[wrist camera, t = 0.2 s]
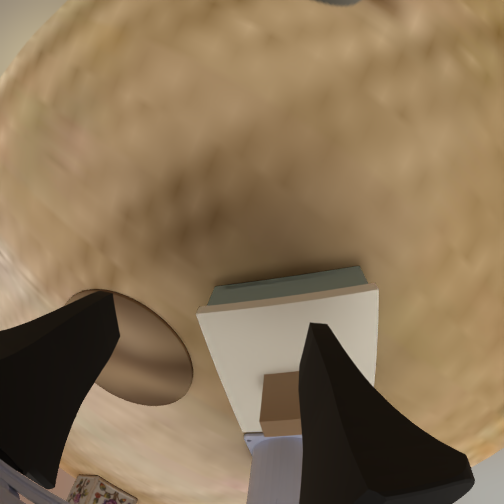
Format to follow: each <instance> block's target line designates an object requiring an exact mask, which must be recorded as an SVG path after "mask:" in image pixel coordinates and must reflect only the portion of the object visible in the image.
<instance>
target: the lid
mask: <svg viewBox="0 0 504 504" xmlns="http://www.w3.org/2000/svg"><path fill="white" fill-rule="evenodd" d="M378 304H379V289H378V287H377V285H376V283H369V284H363V285H357V286H351V287H345V288H339V289H333V290H326V291H320V292H313V293H306V294H299V295H292V296H285V297H277V298H270V299H262V300H254V301H246V302H237V303H229V304H220V305H210V306H201V307H199V308H198V310H197V313H196V316H197V318H198V321H199V324H200V327H201V330H202V332H203V335H204V338H205V341H206V343H207V346H208V349H209V351H210V354H211V357H212V359H213V362H214V364H215V367H216V369H217V372H218V375H219V377H220V380H221V382H222V385H223V387H224V389H225V392H226V394H227V397H228V399H229V402H230V404H231V406H232V409H233V411H234V413H235V416H236V418H237V420H238V423H239V425H240V427H241V429H242V432H263V434H264V437H277V436H291V435H302V429H301V417H300V404H299V392H298V385H299V364H300V360H301V357H302V353H303V349H304V345H305V340H306V336H307V332H308V328H309V324H310V322H312V323H322V324H328V326H329V327H330V329H331V330H332V332H333V333H334V335H335V336H336V338H337V339H338V341H339V342H340V344H341V345H342V347H343V348H344V350H345V351H346V353H347V354H348V355H349V357H350V358H351V360H352V361H353V362H354V364H355V365H356V366H357V368H358V369H359V370H360V372H361V373H362V374H363V375H364V377H365V378H366V379H367V380H368V381H369V382H370V384H371V385H372V386H373V387H374V380H375V368H376V355H377V337H378Z"/></svg>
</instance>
